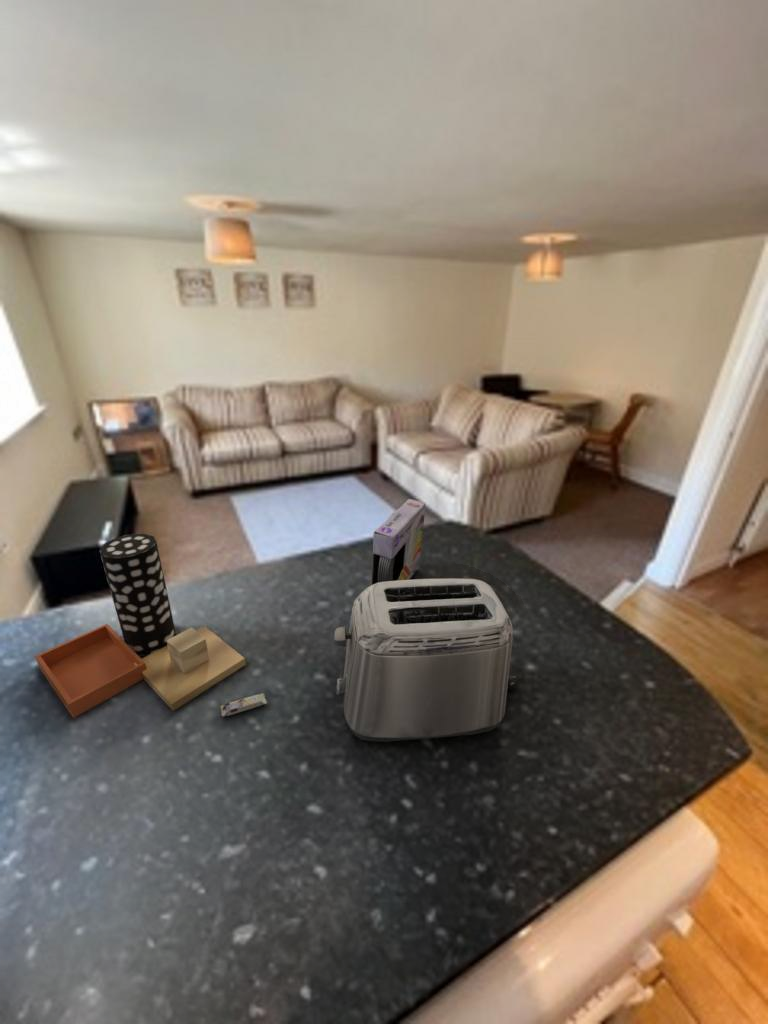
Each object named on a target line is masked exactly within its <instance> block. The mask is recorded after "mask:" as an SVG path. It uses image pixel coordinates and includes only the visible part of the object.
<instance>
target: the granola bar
mask: <svg viewBox="0 0 768 1024" xmlns="http://www.w3.org/2000/svg"><path fill="white" fill-rule="evenodd" d="M266 704H268V701H267V699H266V696H265V693H264V692H262V693H260V694H259V693H257V694H255V695H251V696H247V697H244V698H240V699H238V700H235V701H231V702H228V703H225V704H222V705H220V706H219V707H220V711H221V717H228V716H229V717H230V716H232V715H235V714H239V713H242V712H245V711H249V710H252V709H255V708H258V707H261V706H262V705H266Z"/></svg>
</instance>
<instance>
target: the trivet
mask: <svg viewBox="0 0 768 1024" xmlns="http://www.w3.org/2000/svg"><path fill="white" fill-rule="evenodd" d="M195 630H196V631H197V632H198V633H199V634H200V635H202V636H203V637H204V638H205V639H206V643H207V649H208V655H209V660H208V661H206V662H204V663H202V664H201V665H199V666H197V667H196V668H194V669H192V670H191V671H189V672H187V673H185V674H184V673H183V672H182V671H181V670H180V669H179V668H178V667H177V666H176V665H175V664H174V663H173V662H172V661H171V659H170V654H169V650H168V645H167V646H165V647H163V648H161V649H159V650H157V651H156V652H154V653H152V654H150V655H145V656H144V657H142V658H141V659H142V660H143V661H144V662H145V663H146V667H147V669H146V670H145V671H143V672H142V676H143V679H142V680H144V681H145V683H147V685H148V686H149V687H150V688H151V689H152V690H153V691H154V692H155V693H156V694H157V696H158V697H159V698H160V699H161V700H162V701H164V703H165V704H166V705H167V707H169V708H170V709H171V711H173V712H174V711H176V710H177V709H179V708H181V707H182V706H183V705H185V704H187V703H188V702H190V701H191V700H193V699H194V698H196V697H198V696H199V695H201V694H202V693H204V692H206V691H207V690H208V689H210V688H211V687H213V686H215V685H216V684H218V683H219V682H221V681H223V680H224V679H226V678H228V677H229V676H230V675H232V674H234V673H235V672H237V671H238V670H240V669H242V668H243V667H245V666H246V664H247V663H246V658H245V657H244V656H243V655H242V654H241V653H239V652H238V651H236V649H234V648H233V647H231V646H230V645H229V644H228V643H226V642H225V641H224V640H223V639H221V638H220V637H219V636H218V635H217V634H215V633H214V632H213V631H211V630H210V629H209V628H208V627H206V626H205V625H203V626H201V627H200V628H198V629H195ZM133 664H134V667H135V666H136V665H137V664H136V663H133Z"/></svg>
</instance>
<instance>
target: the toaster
mask: <svg viewBox="0 0 768 1024" xmlns="http://www.w3.org/2000/svg"><path fill="white" fill-rule="evenodd" d="M513 640H514V630H513V624H512V621H511V618H510V617H509V615H508V612H507V610H506V608H505V607H504V605H503V603H502V602H501V600H500V598H499V597H498V595H497V593H496V592H495V591H494V589H493V588H492V587H491V585H489V584H488V583H487V582H485V581H483V580H481V579H475V578H417V579H410V580H398V581H387V582H380V583H376V584H374V585H372V584H371V585H369V586H368V587H366V588H365V589H364V590H362V591H361V592H360V593H359V594H358V595H357V597H356V598H355V600H354V601H353V605H352V609H351V615H350V622H349V629H348V632H347V629H346V626H339V627H336V629H335V631H334V638H333V641H334V644H335V645H336V646H337V647H345V646H346V651H345V660H344V668H343V669H344V670H343V677H337V679H336V687H335V688H336V689H335V692H336V693H335V694H336V695H337V696H342V697H343V713H344V718H345V721H346V723H347V725H348V728H349V730H350V732H351V733H352V734H353V735H354V736H355V737H356V738H358V739H360V740H362V741H366V742H375V743H377V742H378V743H390V742H391V743H392V742H396V741H409V740H411V741H412V740H413V741H414V740H427V739H439V738H440V739H441V738H450V737H457V736H473V735H478V734H482V733H489V732H491V731H492V730H495V729H496V728H497V727H498V726H499V725H500V724H501V723H502V721H503V719H504V717H505V714H506V705H507V698H508V697H507V696H508V691H511V687H512V686H514V685H516V682H515V681H512V679H516V678H517V676H515V675H513V676H512V675H511V676H510V669H511V668H510V667H511V659H512V650H513V649H512V648H513ZM346 641H347V643H346ZM511 681H512V682H511Z"/></svg>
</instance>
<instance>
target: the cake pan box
mask: <svg viewBox="0 0 768 1024" xmlns="http://www.w3.org/2000/svg"><path fill="white" fill-rule="evenodd" d="M426 505H427V504H426V502H422V501H419V500H414V499H411V498H408V499H407V500H406V501H405V502H404V503H403V504H402V505H401V506H400V507H399V508H398V509H395V511H394V512H392V513H391V514H390V515H389V516H388V517H387V519H386V520H385V521H384V522H383V523H381V525H380V526H379V527H378V528H376V529H374V531H373V541H372V542H373V543H372V565H371V566H372V567H371V569H372V570H371V586H372V585H374V584H376V583H380V582H387V581H398V580H411V578H412V577H413V576H414V574H415V573H416V572H417V570H418V569H419V568H420V563H421V554H422V545H423V544H422V543H423V532H424V524H425V517H426V516H425V515H426V514H425V513H426ZM418 565H419V566H418ZM417 566H418V568H417ZM416 568H417V569H416ZM414 571H415V572H414ZM413 572H414V573H413Z"/></svg>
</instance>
